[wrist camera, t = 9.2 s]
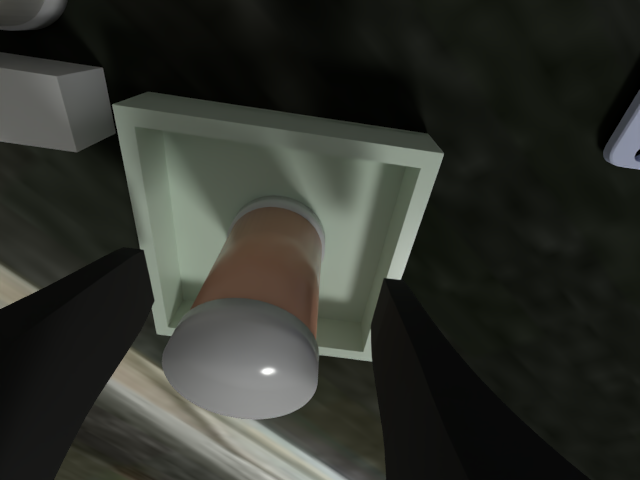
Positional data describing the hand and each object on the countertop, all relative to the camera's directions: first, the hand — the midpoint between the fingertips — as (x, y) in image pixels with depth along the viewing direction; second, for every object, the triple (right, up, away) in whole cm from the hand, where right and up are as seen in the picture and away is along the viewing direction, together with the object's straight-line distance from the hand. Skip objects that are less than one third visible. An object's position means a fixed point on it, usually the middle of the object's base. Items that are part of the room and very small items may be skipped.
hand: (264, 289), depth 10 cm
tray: (0, +2, +3) cm, 3 cm away
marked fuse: (0, +2, +3) cm, 3 cm away
